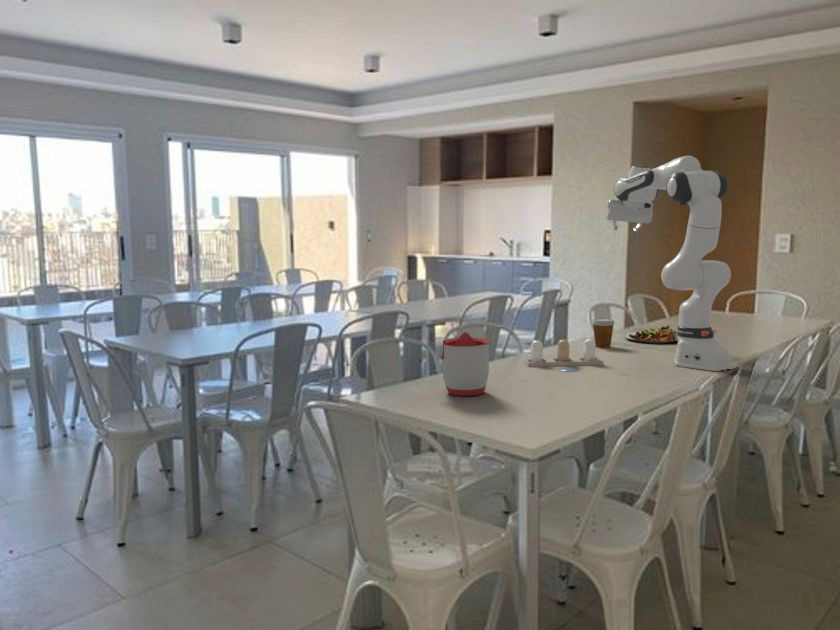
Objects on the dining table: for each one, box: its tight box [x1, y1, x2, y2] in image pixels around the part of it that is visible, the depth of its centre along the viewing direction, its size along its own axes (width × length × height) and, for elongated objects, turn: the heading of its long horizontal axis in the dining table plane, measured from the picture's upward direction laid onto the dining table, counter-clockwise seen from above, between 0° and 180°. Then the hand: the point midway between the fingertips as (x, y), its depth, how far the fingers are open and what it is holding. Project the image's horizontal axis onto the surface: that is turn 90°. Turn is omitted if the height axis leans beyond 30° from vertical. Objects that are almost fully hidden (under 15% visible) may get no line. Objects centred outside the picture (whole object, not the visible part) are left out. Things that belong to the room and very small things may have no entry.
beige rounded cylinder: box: [556, 339, 570, 362], centre depth 264 cm, size 4×4×9 cm
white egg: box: [530, 340, 544, 362], centre depth 264 cm, size 4×4×9 cm
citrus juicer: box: [435, 331, 490, 397], centre depth 227 cm, size 16×17×20 cm
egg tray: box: [523, 356, 605, 368], centre depth 265 cm, size 29×8×3 cm, turn 92°
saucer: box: [556, 366, 580, 373], centre depth 254 cm, size 8×8×1 cm
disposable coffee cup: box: [591, 317, 616, 349], centre depth 304 cm, size 10×10×12 cm
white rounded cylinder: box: [582, 338, 597, 361], centre depth 265 cm, size 4×4×9 cm
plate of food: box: [624, 325, 678, 344], centre depth 321 cm, size 28×28×6 cm
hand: (625, 230), depth 314 cm, fingers open, 8 cm apart
